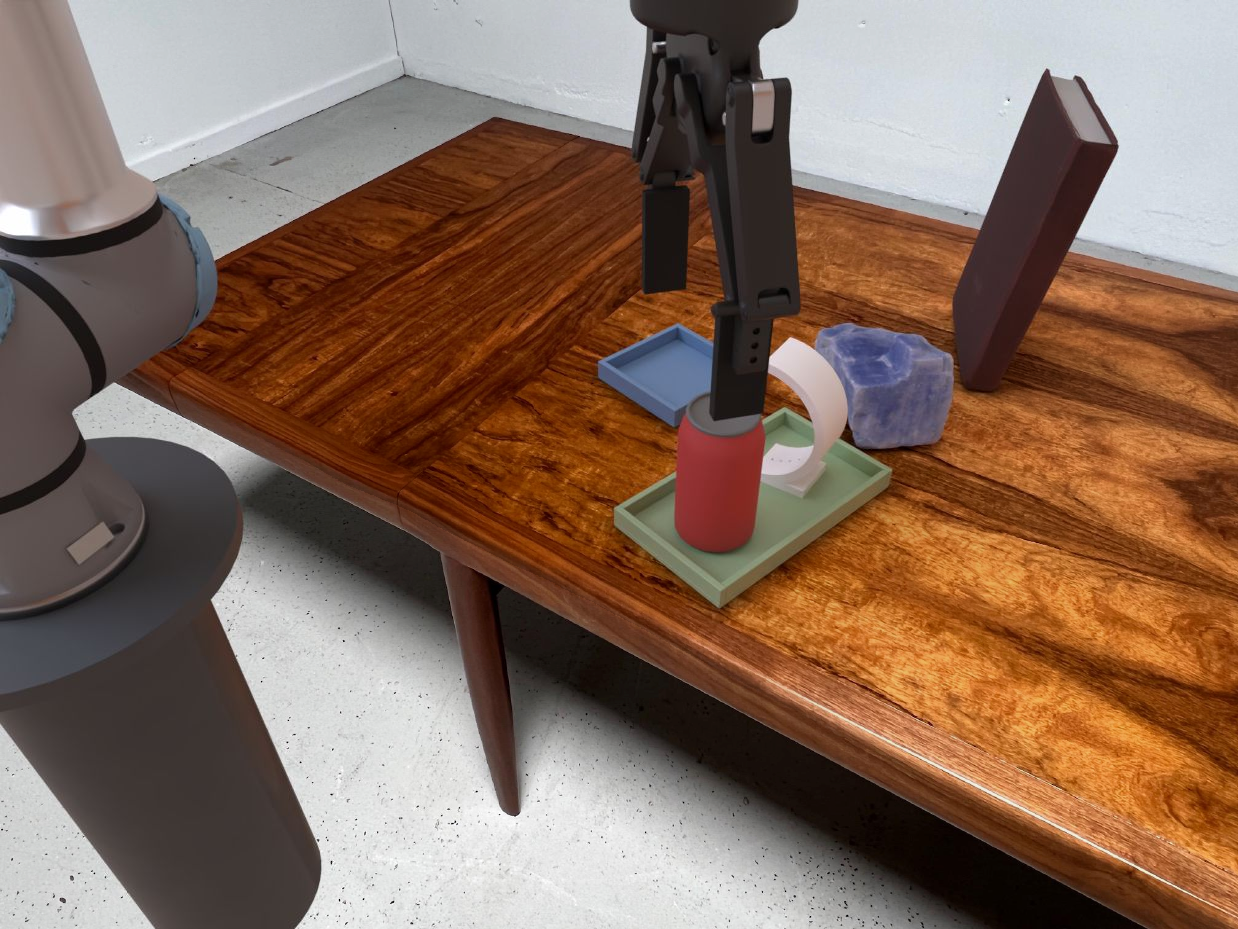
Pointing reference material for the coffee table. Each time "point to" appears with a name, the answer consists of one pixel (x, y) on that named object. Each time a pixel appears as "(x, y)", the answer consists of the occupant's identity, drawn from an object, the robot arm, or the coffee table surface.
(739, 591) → the green tray
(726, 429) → the beer can
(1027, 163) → the book
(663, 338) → the blue tray
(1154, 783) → the coffee table surface
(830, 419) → the headphone stand
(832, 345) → the mineral
